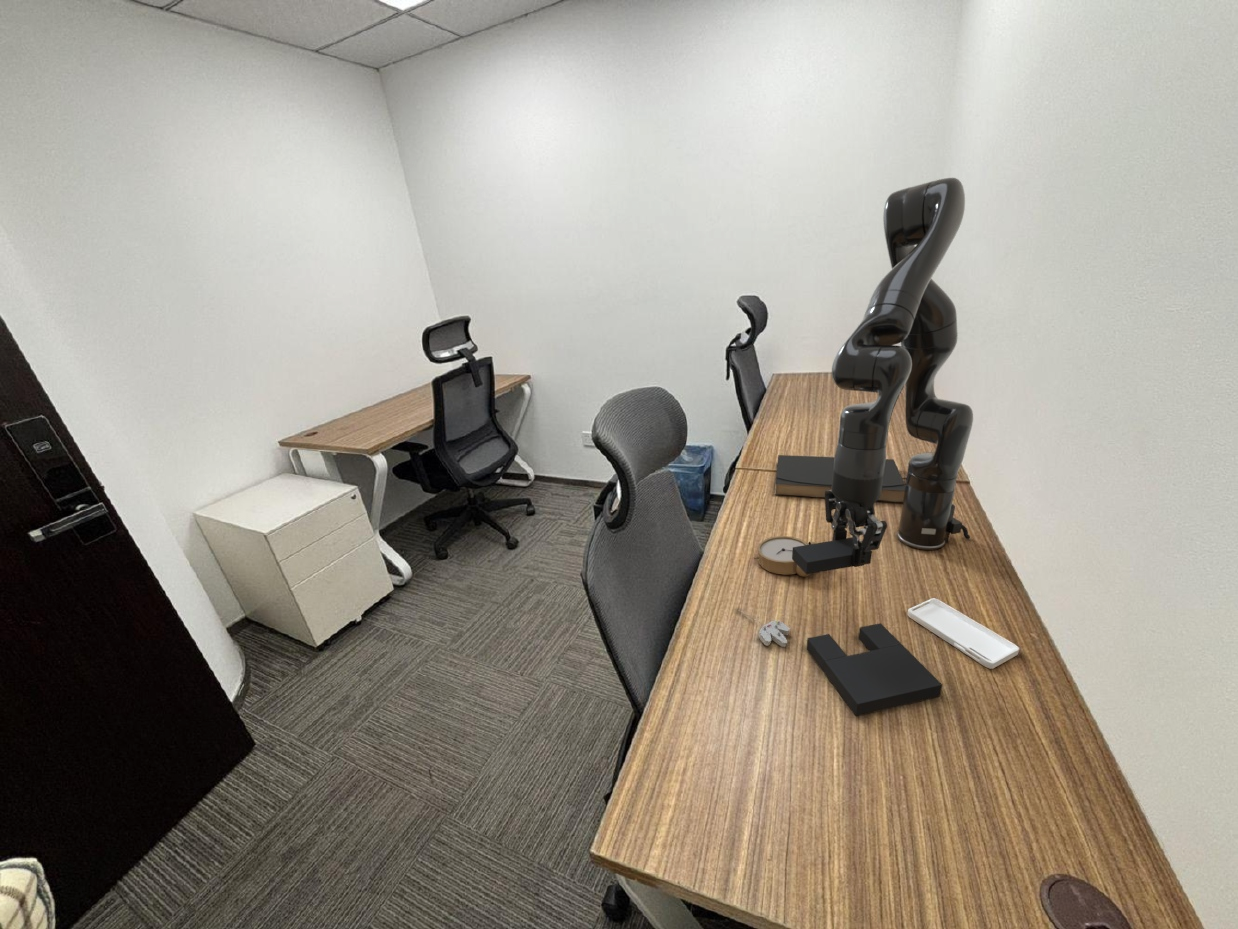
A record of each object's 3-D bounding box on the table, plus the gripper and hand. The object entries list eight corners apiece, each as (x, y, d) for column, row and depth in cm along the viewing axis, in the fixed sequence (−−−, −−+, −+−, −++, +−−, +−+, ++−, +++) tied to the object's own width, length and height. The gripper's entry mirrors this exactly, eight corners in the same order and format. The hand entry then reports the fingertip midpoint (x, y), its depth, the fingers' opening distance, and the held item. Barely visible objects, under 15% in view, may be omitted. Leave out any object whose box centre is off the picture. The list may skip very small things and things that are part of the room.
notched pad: (879, 634, 87) (880, 623, 86) (939, 696, 74) (942, 684, 73) (806, 649, 85) (807, 638, 84) (855, 716, 72) (857, 704, 71)
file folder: (775, 482, 137) (778, 452, 158) (774, 495, 138) (778, 463, 159) (908, 490, 126) (892, 456, 147) (906, 504, 128) (891, 468, 148)
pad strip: (852, 548, 89) (854, 536, 88) (870, 563, 84) (872, 551, 83) (791, 559, 87) (792, 547, 86) (806, 574, 82) (807, 562, 81)
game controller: (781, 654, 84) (781, 642, 83) (722, 628, 92) (722, 617, 91) (794, 635, 88) (795, 624, 87) (737, 611, 96) (737, 600, 95)
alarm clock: (765, 532, 116) (832, 537, 107) (768, 550, 117) (834, 556, 108) (748, 556, 107) (820, 563, 98) (752, 576, 109) (822, 584, 100)
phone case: (1019, 654, 80) (933, 602, 93) (1021, 647, 79) (934, 596, 92) (990, 670, 78) (905, 615, 90) (991, 664, 77) (906, 609, 90)
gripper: (910, 482, 73) (895, 576, 80) (852, 450, 86) (842, 533, 93) (865, 489, 72) (853, 584, 79) (813, 456, 85) (806, 539, 92)
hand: (847, 556), depth 86 cm, fingers closed on pad strip, 5 cm apart
